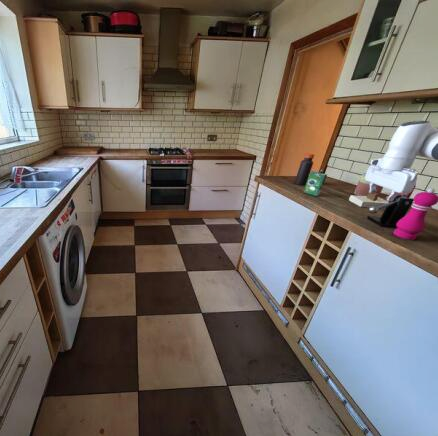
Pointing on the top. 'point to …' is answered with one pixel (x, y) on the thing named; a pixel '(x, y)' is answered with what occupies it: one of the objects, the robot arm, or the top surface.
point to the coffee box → (315, 183)
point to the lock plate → (367, 201)
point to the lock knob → (372, 196)
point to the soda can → (407, 194)
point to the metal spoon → (375, 209)
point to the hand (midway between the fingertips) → (379, 196)
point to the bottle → (304, 170)
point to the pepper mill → (416, 215)
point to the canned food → (365, 187)
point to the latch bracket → (393, 213)
